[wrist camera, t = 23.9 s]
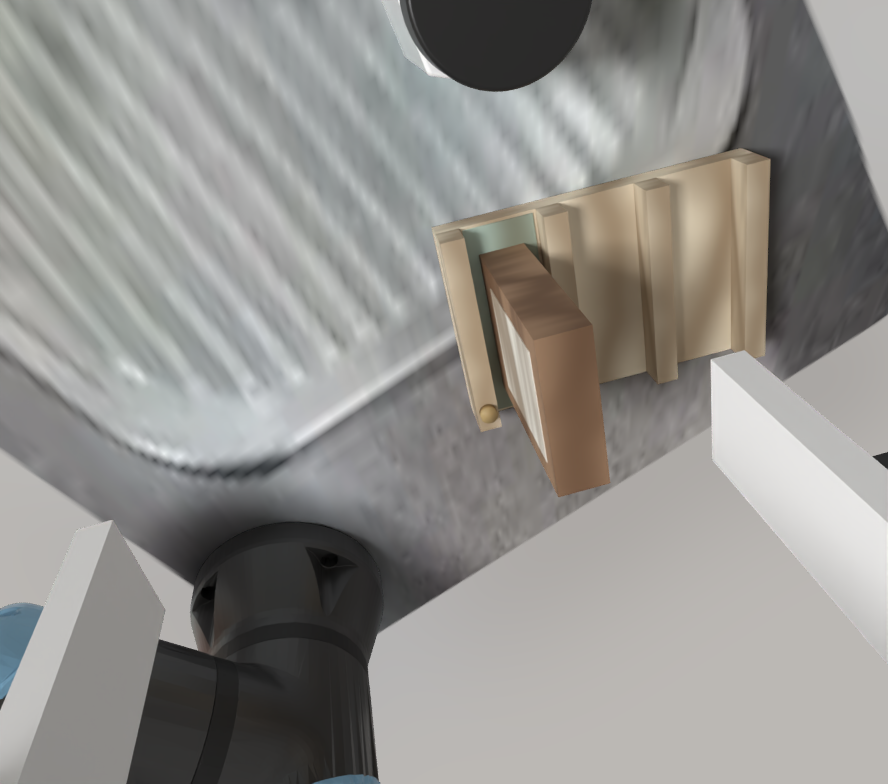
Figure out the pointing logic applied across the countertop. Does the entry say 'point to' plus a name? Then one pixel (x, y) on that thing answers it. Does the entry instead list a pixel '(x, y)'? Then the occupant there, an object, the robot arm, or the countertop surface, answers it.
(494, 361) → the slotted rack
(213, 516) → the countertop surface
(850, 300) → the countertop surface
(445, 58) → the jar
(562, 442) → the wooden block
